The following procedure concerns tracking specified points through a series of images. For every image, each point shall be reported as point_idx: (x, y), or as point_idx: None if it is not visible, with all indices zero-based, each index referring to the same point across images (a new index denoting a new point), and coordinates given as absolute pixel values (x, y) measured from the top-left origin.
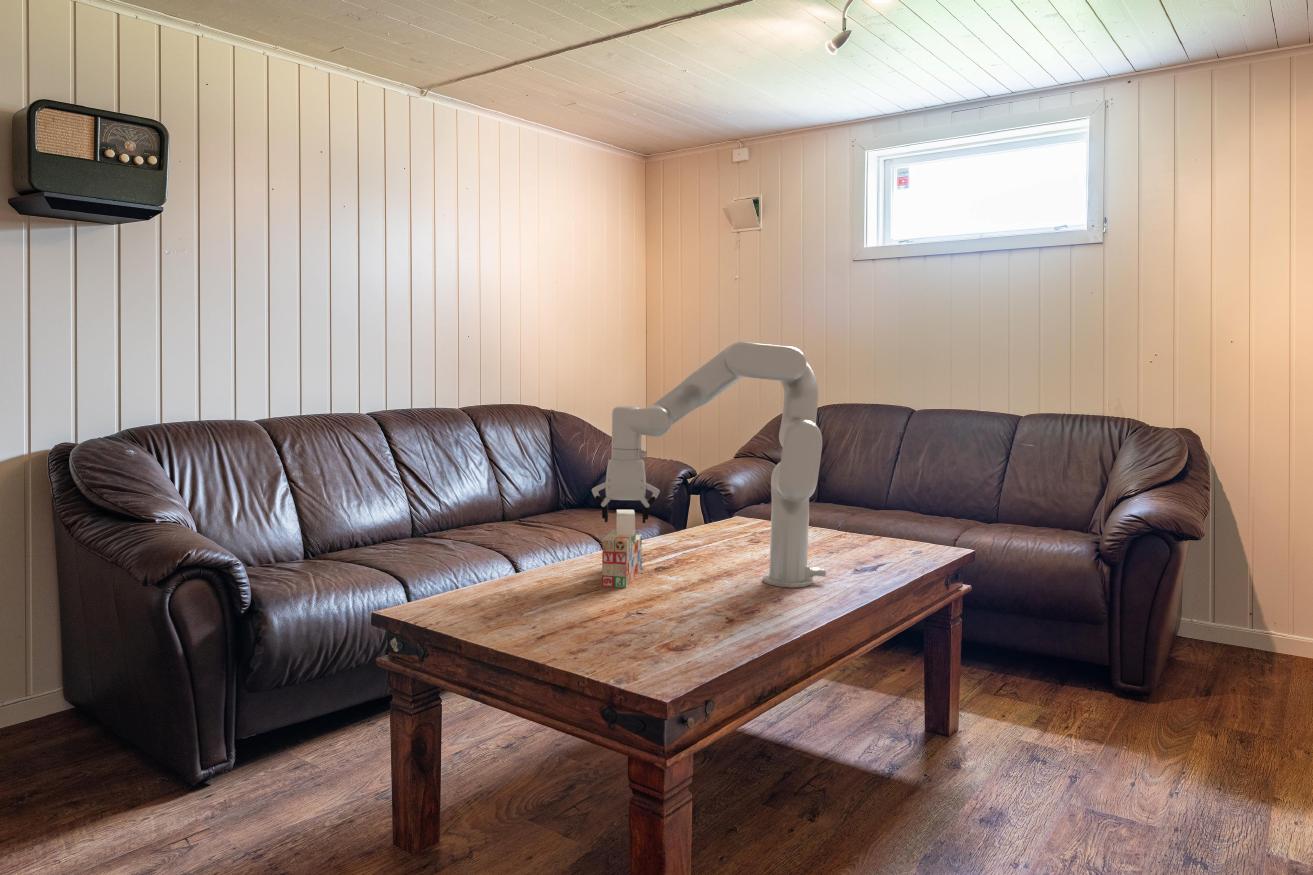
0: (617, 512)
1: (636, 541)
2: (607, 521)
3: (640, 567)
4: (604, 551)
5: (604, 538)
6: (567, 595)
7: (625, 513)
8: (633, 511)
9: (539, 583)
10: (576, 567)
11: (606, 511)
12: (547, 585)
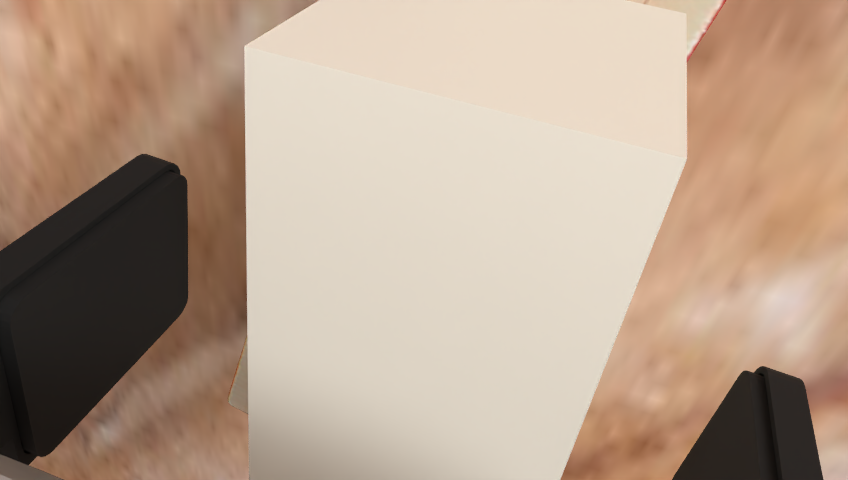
0: (257, 357)
1: (712, 21)
2: (185, 291)
3: None
4: None
5: (241, 392)
6: (206, 295)
7: (384, 466)
8: (584, 364)
9: (37, 44)
10: None
11: (72, 414)
12: (87, 98)
